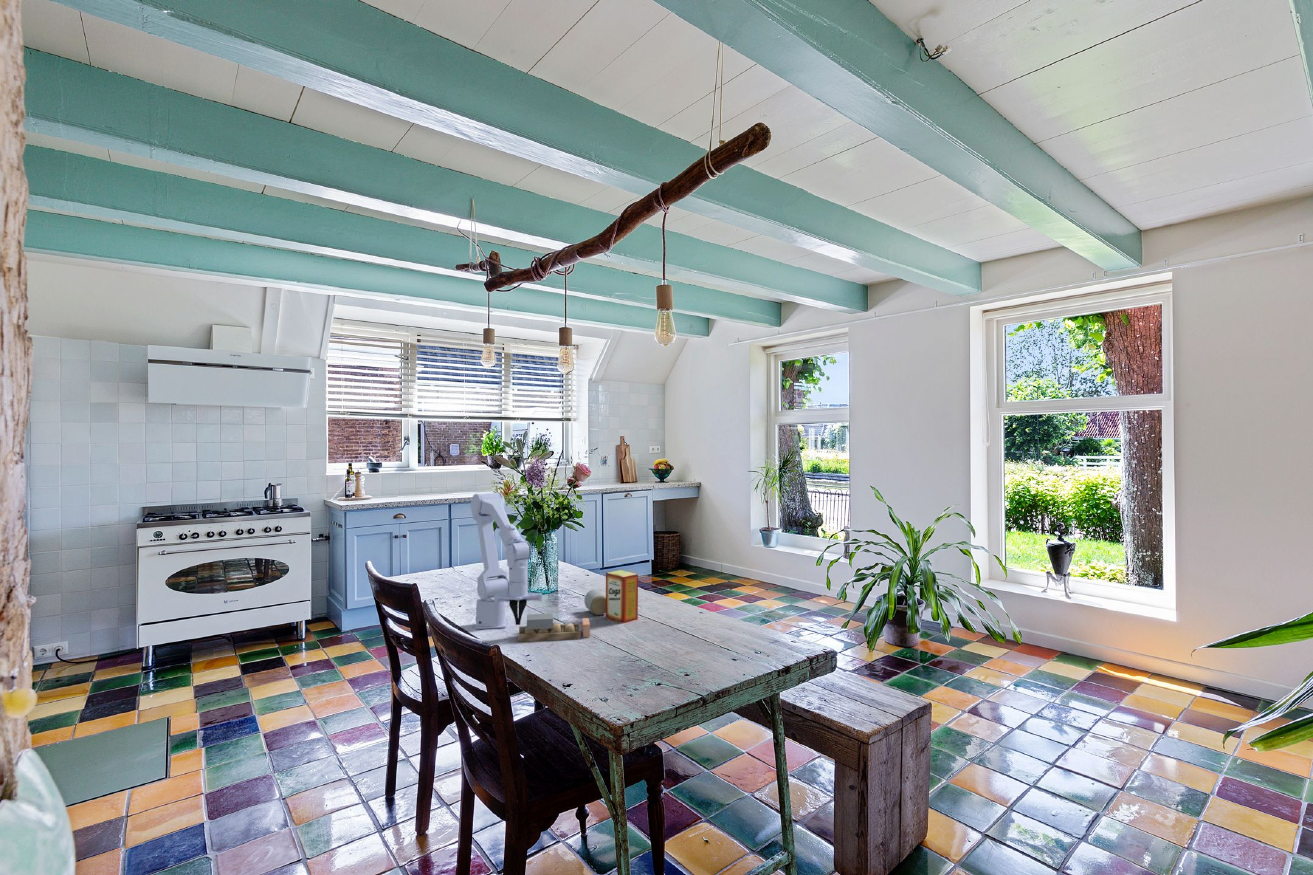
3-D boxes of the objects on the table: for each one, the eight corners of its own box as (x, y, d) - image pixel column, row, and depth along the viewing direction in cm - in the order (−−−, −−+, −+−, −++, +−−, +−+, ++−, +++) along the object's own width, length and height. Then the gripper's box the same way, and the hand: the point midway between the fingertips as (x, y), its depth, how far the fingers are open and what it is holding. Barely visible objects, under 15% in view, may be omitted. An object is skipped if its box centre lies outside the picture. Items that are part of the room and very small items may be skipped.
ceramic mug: (590, 617, 221) (591, 595, 221) (583, 611, 228) (584, 589, 228) (619, 614, 225) (619, 592, 225) (611, 608, 232) (612, 587, 232)
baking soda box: (605, 617, 221) (605, 571, 221) (619, 613, 225) (620, 568, 225) (623, 623, 214) (623, 576, 214) (637, 619, 218) (638, 573, 218)
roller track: (518, 641, 194) (518, 631, 194) (519, 632, 203) (519, 622, 203) (580, 638, 197) (580, 628, 197) (578, 629, 206) (578, 619, 206)
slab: (526, 629, 196) (526, 619, 196) (527, 623, 202) (527, 614, 202) (552, 628, 197) (552, 618, 197) (552, 622, 203) (552, 613, 203)
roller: (575, 637, 199) (574, 627, 199) (566, 638, 198) (565, 629, 198) (574, 631, 205) (573, 622, 205) (565, 632, 204) (564, 623, 204)
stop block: (583, 637, 199) (583, 624, 199) (581, 630, 206) (582, 618, 206) (589, 636, 199) (589, 624, 199) (588, 630, 206) (588, 617, 206)
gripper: (493, 584, 193) (493, 628, 193) (541, 582, 196) (541, 626, 196) (495, 579, 200) (494, 622, 200) (541, 577, 203) (541, 619, 203)
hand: (518, 623), depth 198 cm, fingers closed
